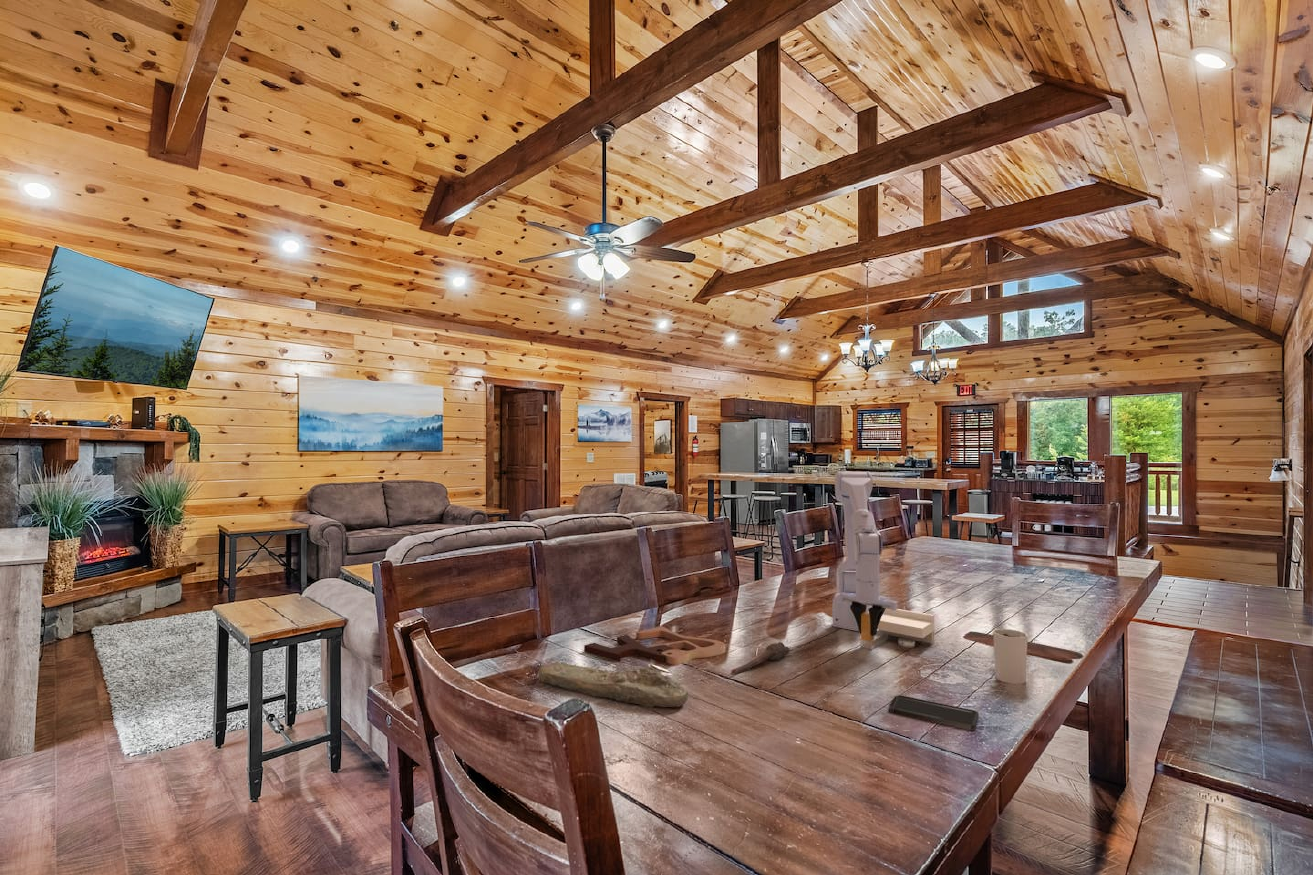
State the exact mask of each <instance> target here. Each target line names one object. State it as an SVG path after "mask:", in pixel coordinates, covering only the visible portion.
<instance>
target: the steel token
mask: <svg viewBox="0 0 1313 875" xmlns="http://www.w3.org/2000/svg"><path fill="white" fill-rule="evenodd" d="M897 645H898V646H899V647H902V648H908V649H909V648H910V649H912V648H913V649H914V648H915V646H916V640H913V639H910V638H901V637H898V638H897Z"/></svg>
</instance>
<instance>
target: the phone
mask: <svg viewBox="0 0 1313 875" xmlns="http://www.w3.org/2000/svg"><path fill="white" fill-rule="evenodd" d="M888 712H890V713H892V714H895V715H900V716H904V717H909V718H914V719H918V720H922V721H927V722H932V723H937V724H941V725H944V726H950V727H955V728H958V729H963V730H967V731H974V730H976V728H977V725H978V722H979V719H980V718H979V711H976V710H972V709H968V708H964V707H958V706H954V705H949V704H944V703H940V702H939V703H938V702H935V701H929V700H925V699H919V698H915V697H910V696H905V695H900V694H899V695H895V696H894V697H893V699H892V700H891V702H890V703H889V705H888Z"/></svg>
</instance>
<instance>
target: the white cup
mask: <svg viewBox="0 0 1313 875" xmlns="http://www.w3.org/2000/svg"><path fill="white" fill-rule="evenodd" d="M992 635H993V637H994V646H993V653H994V671H995V672H994V673H995V679H996V680H999V681H1001V682H1004V683H1008V684H1013V685H1022V684H1024V683H1026V678H1027V657H1028V656H1027V655H1028V654H1027V641H1028V637H1029V636H1028V634H1027V633H1026V632H1023V631H1020V630H1016V629H1009V628H996V629H993V631H992Z"/></svg>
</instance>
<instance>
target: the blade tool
mask: <svg viewBox="0 0 1313 875" xmlns="http://www.w3.org/2000/svg"><path fill="white" fill-rule="evenodd" d="M888 637H889V635H888V632H884V631H879V630H878V629H877V634H876V635H874V636H871V633H870V615H869V613H867V612H864V613H862V614H861V633H860V639H859V648H862V649H867V650H870V651H871V650H874V649H875V648H877V647H879V646H880V645H882V644H883V643H886V641H888V640H889V638H888Z"/></svg>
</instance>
